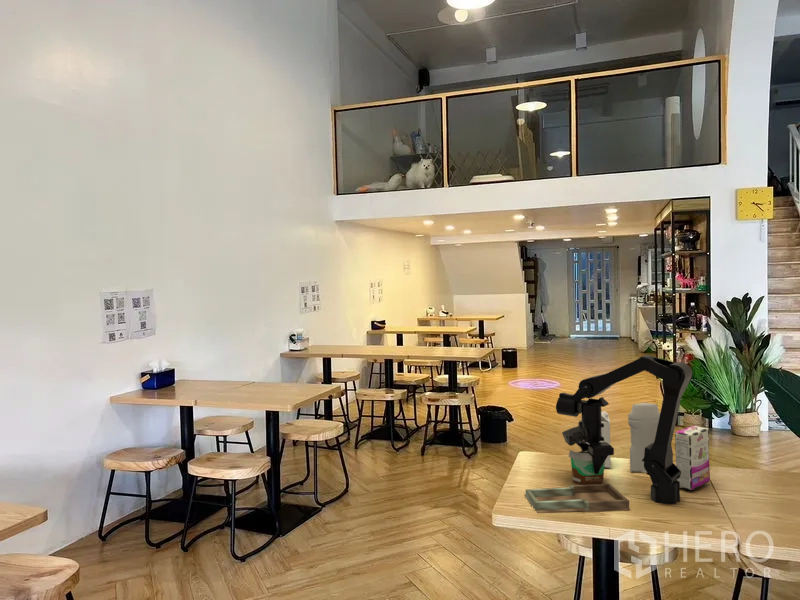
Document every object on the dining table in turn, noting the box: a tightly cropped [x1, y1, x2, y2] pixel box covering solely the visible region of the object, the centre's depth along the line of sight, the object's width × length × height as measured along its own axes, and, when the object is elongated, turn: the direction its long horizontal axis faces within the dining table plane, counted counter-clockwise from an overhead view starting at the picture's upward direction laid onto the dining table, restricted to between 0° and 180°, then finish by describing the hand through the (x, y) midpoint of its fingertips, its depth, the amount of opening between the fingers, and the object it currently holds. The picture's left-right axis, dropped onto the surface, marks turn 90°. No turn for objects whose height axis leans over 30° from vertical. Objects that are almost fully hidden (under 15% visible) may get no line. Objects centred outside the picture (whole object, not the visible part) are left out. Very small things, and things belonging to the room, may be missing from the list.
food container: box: [568, 449, 605, 485], centre depth 174 cm, size 12×6×10 cm, turn 105°
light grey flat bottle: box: [627, 402, 661, 474], centre depth 184 cm, size 11×4×22 cm, turn 87°
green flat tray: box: [524, 483, 630, 514], centre depth 160 cm, size 25×13×2 cm, turn 93°
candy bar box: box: [674, 425, 711, 491], centre depth 172 cm, size 11×5×16 cm, turn 126°
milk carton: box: [600, 410, 612, 469], centre depth 192 cm, size 7×7×19 cm
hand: (591, 469), depth 174 cm, fingers closed on food container, 6 cm apart
